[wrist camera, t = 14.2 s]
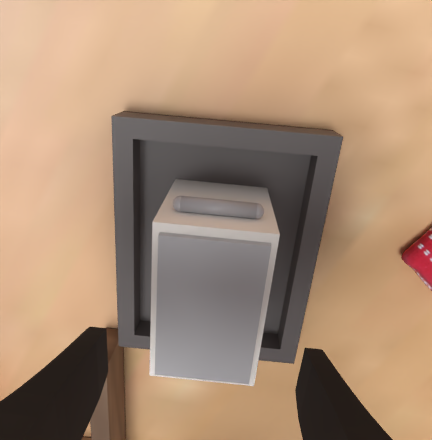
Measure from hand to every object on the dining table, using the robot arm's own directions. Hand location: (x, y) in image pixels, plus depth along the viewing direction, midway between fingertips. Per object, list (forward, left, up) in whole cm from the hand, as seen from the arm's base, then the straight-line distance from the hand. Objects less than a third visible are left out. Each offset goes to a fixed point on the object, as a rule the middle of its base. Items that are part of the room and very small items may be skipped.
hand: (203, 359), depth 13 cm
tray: (0, 0, -9) cm, 9 cm away
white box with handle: (0, 0, -9) cm, 9 cm away
